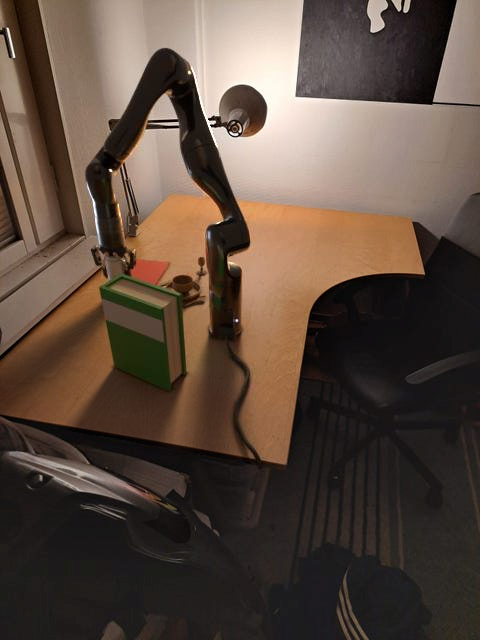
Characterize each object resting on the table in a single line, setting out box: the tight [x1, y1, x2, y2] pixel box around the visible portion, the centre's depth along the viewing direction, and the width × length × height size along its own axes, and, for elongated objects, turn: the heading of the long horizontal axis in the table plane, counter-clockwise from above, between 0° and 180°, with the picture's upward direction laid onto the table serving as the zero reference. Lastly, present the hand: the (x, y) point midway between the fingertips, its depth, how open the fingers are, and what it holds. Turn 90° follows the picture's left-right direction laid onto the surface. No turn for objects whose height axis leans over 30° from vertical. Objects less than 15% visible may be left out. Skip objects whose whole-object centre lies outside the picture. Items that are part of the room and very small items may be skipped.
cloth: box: [131, 259, 170, 285], centre depth 150 cm, size 20×14×1 cm
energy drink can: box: [105, 256, 125, 282], centre depth 134 cm, size 6×6×15 cm
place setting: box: [159, 256, 207, 308], centre depth 141 cm, size 18×20×6 cm
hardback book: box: [98, 274, 187, 392], centre depth 102 cm, size 18×7×24 cm, turn 61°
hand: (118, 278), depth 134 cm, fingers closed on energy drink can, 6 cm apart
